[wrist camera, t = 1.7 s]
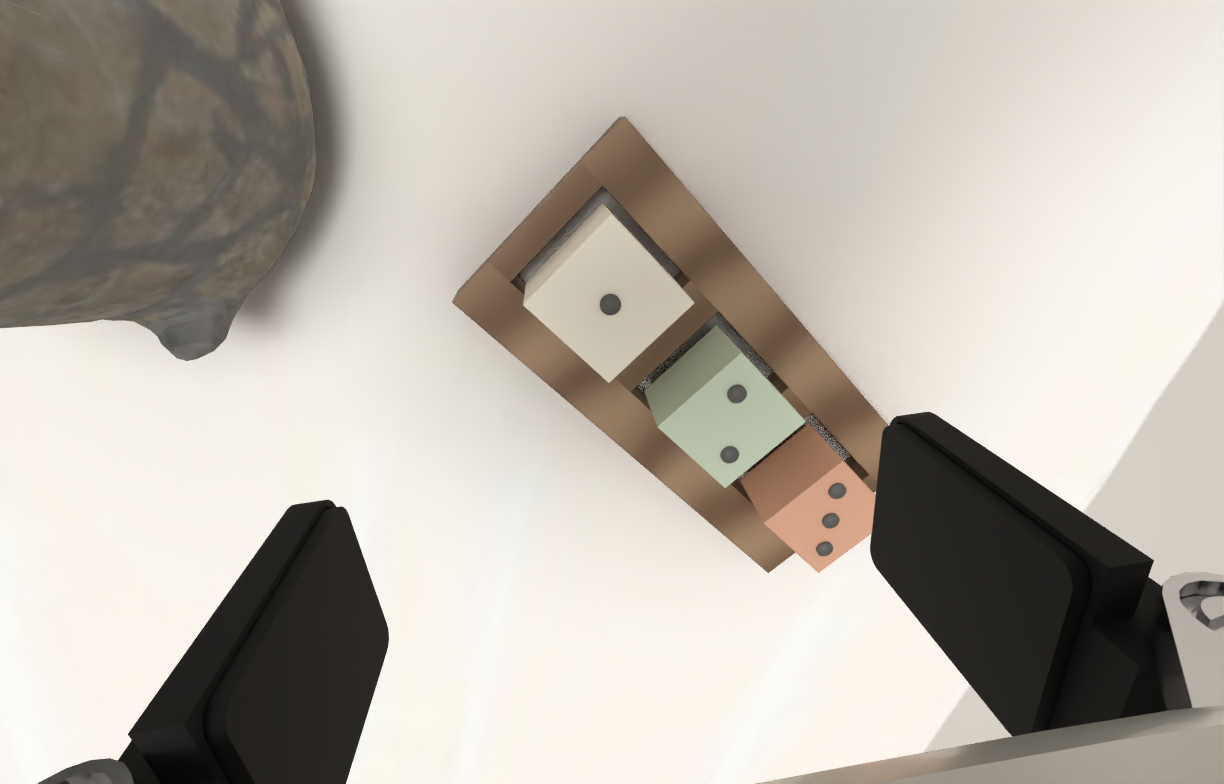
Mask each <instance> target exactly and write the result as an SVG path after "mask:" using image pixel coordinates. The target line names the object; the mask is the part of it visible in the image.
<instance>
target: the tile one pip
mask: <svg viewBox="0 0 1224 784" xmlns="http://www.w3.org/2000/svg"><path fill="white" fill-rule="evenodd" d="M693 304H694V301H693V300H692V299H691V298H690V297H689V296H688V295H687V293H686V292H685V291H684V290H683V289H682V288H681V286H680V285H679V284H678V283H677V282H676V281H675V280H674V279H673V277H672V276H671V275H670V274H669V273H668V272H667V271H666V270H665V269H664V268H663V267H662V266H661V265H660V264H659V263H658V261H657V260H656V259H655V258H654V257H653V256H652V255H651V254H650V253H649V252H648V251H647V250H646V249H645V248H644V246H643V245H642V244H641V243H640V242H639V241H638V240H637V239H636V238H635V237H634V236H633V235H632V234H631V233H630V232H629V230H628V229H627V228H626V227H625V226H624V225H623V224H622V223H621V222H620V221H619V220H618V219H617V218H616V217H615V215H614V214H613V213H612V212H611V211H610V210H609V209H608V208H607V207H606V206H605V205H604V204H603V203H602V204H601V205H600V206H599V207H598V208H597V209H596V210H595V211H594V212H593V213H592V214H591V215H590V216H589V217H588V218H587V219H586V220H585V221H584V222H583V223H582V224H581V225H580V226H579V227H578V228H577V229H576V230H575V232H574V233H573V234H572V235H571V236H570V237H569V238H568V239H567V240H566V241H565V242H564V243H563V244H562V245H561V246H560V247H559V248H558V249H557V250H556V251H555V252H554V253H553V254H552V255H551V256H550V257H549V259H548V260H547V261H546V262H545V263H544V264H543V265H542V266H541V267H540V268H539V269H538V270H537V271H536V272H535V273H534V274H533V275H532V276H531V277H530V278H529V279H528V280H527V281H526V287H525V294H524V301H523V306H525V307H526V308H527V309H528V310H529V311H530V312H531V313H532V314H533V315H534V316H536V317H537V318H538V319H539V320H540V321H541V322H542V323H543V324H544V325H545V326H547V327H548V328H549V329H550V330H551V331H552V332H553V333H554V334H555V335H557V336H558V337H559V338H560V339H561V340H562V341H563V342H564V343H565V344H566V345H568V346H569V347H570V348H571V349H572V350H573V351H574V352H575V353H576V354H577V355H579V356H580V357H581V358H582V359H583V360H584V361H585V362H586V363H587V364H589V365H590V366H591V367H592V368H593V369H594V370H595V371H596V372H597V373H598V374H600V375H601V376H602V377H603V378H604V379H605V380H606V381H607V382H608V383H610V382H611V381H612V380H613V379H614V378H615V377H616V376H617V375H618V374H619V373H620V372H621V371H622V370H623V369H625V368H626V367H627V366H628V365H629V364H630V363H631V362H632V361H633V360H634V359H635V358H636V357H637V356H638V355H640V354H641V353H642V352H643V351H644V350H645V349H646V348H647V347H648V346H649V345H650V344H651V343H652V342H653V341H655V340H656V339H657V338H658V337H659V336H660V335H661V334H662V333H663V332H664V331H665V330H666V329H667V328H668V327H670V326H671V325H672V324H673V323H674V322H675V321H676V320H677V319H678V318H679V317H680V316H681V315H682V314H683V313H684V312H686V311H687V310H688V309H689V308H690V307H691V306H692V305H693Z"/></svg>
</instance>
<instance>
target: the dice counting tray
mask: <svg viewBox="0 0 1224 784" xmlns="http://www.w3.org/2000/svg"><path fill="white" fill-rule="evenodd" d="M602 186H603V187H604V188H605V189H606V190H607V191H608V192H609V193H610V194H611V195H612V196H613V198H614V199H615V200H616V201H617V202H618V203H619V204H620V205H621V206H622V207H623V208H624V210H625V211H626V212H627V213H628V214H629V215H630V216H631V217H632V218H633V219H634V220H635V221H636V223H637V224H638V225H639V226H640V227H641V228H642V229H643V230H644V231H645V232H646V233H647V234H648V236H649V237H650V238H651V239H652V240H653V241H654V242H655V243H656V244H657V245H658V246H659V247H660V249H661V250H662V251H663V252H664V253H665V254H666V255H667V256H668V257H669V258H670V259H671V260H672V262H673V263H674V264H675V265H676V266H677V267H678V268H679V269H680V270H681V271H680V272H679V273H678V274H677V275H676V276H675V277H674V278H673V279H674V280H675V281H676V282H677V283H678V284H679V285H680V286H681V288H682V289H683V290H684V291H685V292H686V293H687V295H688V296H689V297H690V298H691V299H692V300H693V301H694V304H693V305H692V306H691V307H690V308H689V309H688V310H687V311H686V312H684V313H683V314H682V315H681V316H680V317H679V318H678V319H677V320H676V321H675V322H674V323H673V324H672V325H671V326H670V327H668V328H667V329H666V330H665V331H664V332H663V333H662V334H661V335H660V336H659V337H658V338H657V339H656V340H655V341H653V342H652V343H651V344H650V345H649V346H648V347H647V348H646V349H645V350H644V351H643V352H642V353H641V354H640V355H638V356H637V357H636V358H635V359H634V360H633V361H632V362H631V363H630V364H629V365H628V366H627V367H626V368H625V369H623V370H622V371H621V372H620V373H619V374H618V375H617V376H616V377H615V378H614V379H613V380H612V381H611V382H610V383H608V382H607V381H606V380H605V379H604V378H603V377H602V376H601V375H600V374H598V373H597V372H596V371H595V370H594V369H593V368H592V367H591V366H590V365H589V364H587V363H586V362H585V361H584V360H583V359H582V358H581V357H580V356H579V355H577V354H576V353H575V352H574V351H573V350H572V349H571V348H570V347H569V346H568V345H566V344H565V343H564V342H563V341H562V340H561V339H560V338H559V337H558V336H557V335H555V334H554V333H553V332H552V331H551V330H550V329H549V328H548V327H547V326H545V325H544V324H543V323H542V322H541V321H540V320H539V319H538V318H537V317H536V316H534V315H533V314H532V313H531V312H530V311H529V310H528V309H527V308H526V307H525V306H523V301H524V294H525V287H526V284H525V283H524V282H523V281H522V280H521V279H520V278H519V277H518V276H517V275H518V274H519V273H520V271H521V270H522V269H523V268H524V267H525V266H526V265H527V264H528V263H529V262H530V261H531V260H532V259H533V258H534V257H535V256H536V255H537V254H538V253H539V252H540V251H541V249H542V248H543V247H544V246H545V245H546V244H547V243H548V242H549V241H550V240H551V239H552V238H553V237H554V236H555V235H556V234H557V233H558V232H559V231H560V230H561V229H562V227H563V226H564V225H565V224H566V223H567V222H568V221H569V220H570V219H571V218H572V217H573V216H574V215H575V214H576V213H577V212H578V211H579V210H580V209H581V208H582V207H583V205H584V204H585V203H586V202H587V201H588V200H589V199H590V198H591V197H592V196H593V195H594V194H595V193H596V192H597V191H598V190H599V189H600V188H601V187H602ZM452 303H453V304H455V305H456V306H457V307H458V308H459V309H460V310H462V311H463V312H464V313H465V314H466V315H467V316H469V317H470V318H471V319H472V320H473V321H474V322H476V323H477V324H478V325H479V326H480V327H481V328H483V329H484V330H485V331H486V332H487V333H488V334H490V335H491V336H492V337H493V338H494V339H495V340H497V341H498V342H499V343H500V344H501V345H502V346H504V347H505V348H506V349H507V350H508V351H509V352H511V353H512V354H513V355H514V356H515V357H516V358H518V359H519V360H520V361H521V362H522V363H523V364H525V365H526V366H527V367H528V368H529V369H531V370H532V371H533V372H534V373H535V374H536V375H538V376H539V377H540V378H541V379H542V380H543V381H545V382H546V383H547V384H548V385H549V386H550V387H552V388H553V389H554V390H555V391H556V392H557V393H559V394H560V395H561V396H562V397H563V398H564V399H566V400H567V401H568V402H569V403H570V404H571V405H573V406H574V407H575V408H576V409H577V410H578V411H580V412H581V413H582V414H583V415H584V416H585V417H587V418H588V419H589V420H590V421H591V422H592V423H594V424H595V425H596V426H597V427H598V428H599V429H601V430H602V431H603V432H604V433H605V434H606V435H608V436H609V437H610V438H611V439H612V440H613V441H615V442H616V443H617V444H618V445H619V446H620V447H622V448H623V449H624V450H625V451H626V452H627V453H629V454H630V455H631V456H632V457H633V458H635V459H636V460H637V461H638V462H639V463H640V464H642V465H643V466H644V467H645V468H646V469H647V470H649V471H650V472H651V473H652V474H653V475H654V476H656V477H657V478H658V479H659V480H660V481H661V482H663V483H664V484H665V485H666V486H667V487H668V488H670V489H671V490H672V491H673V492H674V493H675V494H677V495H678V496H679V497H680V498H681V499H682V500H684V501H685V502H686V503H687V504H688V505H689V506H691V507H692V508H693V509H694V510H695V511H696V512H698V513H699V514H700V515H701V516H702V517H703V518H705V519H706V520H707V521H708V522H709V523H710V524H712V525H713V526H714V527H715V528H716V529H717V530H719V531H720V532H721V533H722V534H723V535H724V536H726V537H727V538H728V539H729V540H730V541H731V542H733V543H734V544H735V545H736V546H737V547H739V548H740V549H741V550H742V551H743V552H744V553H746V554H747V555H748V556H749V557H750V558H751V559H753V560H754V561H755V562H756V563H757V564H758V565H760V566H761V567H762V568H763V569H764V570H765V571H767V572H768V573H769V572H770V571H772V570H773V569H774V568H775V567H777V566H778V565H779V564H781V563H782V562H783V561H785V560H786V559H787V558H789V557H790V556H791V555H793V554H794V553H795V551H794V550H793V549H792V548H790V547H789V546H788V545H787V544H786V543H785V542H784V541H783V540H782V539H781V538H779V537H778V536H777V535H776V534H775V533H774V532H773V531H772V530H771V529H770V528H768V527H767V526H766V525H765V524H764V523H763V521H762V519H761V517H760V516H759V514H758V512H757V510H756V508H755V507H754V505H753V503H752V501H751V499H750V498H749V496H748V494H747V492H746V490H745V489H744V487H743V485H742V484H741V483H740V482H739V481H738V480H737V479H736V480H735V481H733V482H732V483H731V484H730V485H728V486H727V487H726V488H724V487H723V486H722V485H721V484H720V483H719V482H718V481H717V480H715V479H714V478H713V477H712V476H711V475H710V474H709V473H708V472H707V471H705V470H704V469H703V468H702V467H701V466H700V465H699V464H698V463H697V462H696V461H694V460H693V459H692V458H691V457H690V456H689V455H688V454H687V453H686V452H685V451H683V450H682V449H681V448H680V447H679V446H678V445H677V444H676V443H675V442H673V441H672V440H671V439H670V438H669V437H668V436H667V435H666V434H665V433H664V432H662V431H661V430H660V429H659V428H658V427H657V424H656V422H655V419H654V416H653V414H652V411H651V408H650V406H649V403H648V400H647V398H646V395H645V394H644V393H643V392H642V391H641V390H640V389H639V388H638V387H637V385H638V384H640V383H641V382H642V381H643V380H644V379H645V378H646V377H647V376H648V375H649V374H650V373H651V372H653V371H654V370H655V369H656V368H657V367H658V366H659V365H660V364H661V363H662V362H663V361H665V360H666V359H667V358H668V357H669V356H670V355H671V354H672V353H673V352H674V351H675V350H677V349H678V348H679V347H680V346H681V345H682V344H683V343H684V342H685V341H686V340H687V339H689V338H690V337H691V336H692V335H693V334H694V333H695V332H696V331H697V330H698V329H699V328H701V327H702V326H703V325H704V324H705V323H706V322H707V321H708V320H709V319H710V318H711V317H712V316H714V315H715V314H716V313H717V312H718V311H719V313H720V314H721V315H722V316H723V317H724V318H725V319H726V320H727V321H728V322H729V323H730V325H731V326H732V327H733V328H734V329H735V330H736V331H737V332H738V333H739V334H740V335H741V336H742V338H743V339H744V340H745V341H746V342H747V343H748V344H749V345H750V346H751V347H752V348H753V349H754V351H755V352H756V353H757V354H758V355H759V356H760V357H761V358H762V359H763V360H764V361H765V362H766V364H767V365H768V366H769V367H770V368H771V369H772V370H773V371H774V373H772V374H771V375H770V376H769V377H768V378H767V379H768V380H769V381H770V382H771V383H772V384H773V385H774V387H775V388H776V389H777V390H778V391H779V392H780V393H781V394H782V395H783V397H784V398H785V399H786V400H787V401H788V402H789V403H790V404H791V405H792V407H793V408H794V409H795V410H796V411H797V412H798V413H799V414H800V415H801V417H802V418H803V419H804V418H805V417H806V416H808V415H809V414H810V413H811V412H812V413H813V415H814V416H815V417H816V418H817V419H818V420H819V421H820V422H821V423H822V424H823V425H824V426H825V428H826V429H827V430H828V431H829V432H830V433H831V434H832V435H833V436H834V437H835V438H836V439H837V441H838V442H839V443H840V444H841V445H842V446H843V447H844V448H845V449H846V450H847V451H848V453H849V454H850V455H851V457H849V458H848V459H847V460H846V461H845V462H846V463H847V465H848V466H849V467H850V468H851V469H852V470H853V471H854V472H855V473H856V474H857V475H858V476H859V477H860V479H861V480H862V481H863V482H864V483H865V484H866V485H867V486H868V487H869V488H870V490H871V491H872V492H873V493H874V492H875V491H876V487H877V478H878V468H879V459H880V449H881V440H882V433H883V430H884V428H885V427H887V426H888V425H887V423H886V422H885V421H884V420H883V419H882V418H881V416H880V415H879V414H878V413H877V412H876V411H875V409H874V408H873V407H872V406H871V405H870V403H869V402H868V401H867V400H866V399H865V398H864V396H863V395H862V394H861V393H860V392H859V391H858V389H857V388H856V387H855V386H854V385H853V384H852V382H851V381H850V380H849V379H848V378H847V376H846V375H845V374H844V373H843V372H842V371H841V369H840V368H839V367H838V366H837V365H836V364H835V362H834V361H833V360H832V359H831V358H830V357H829V355H828V354H827V353H826V352H825V351H824V349H823V348H822V347H821V346H820V345H819V344H818V342H817V341H816V340H815V339H814V338H813V337H812V335H811V334H810V333H809V332H808V331H807V330H806V328H805V327H804V326H803V325H802V324H801V322H800V321H799V320H798V319H797V318H796V317H795V315H794V314H793V313H792V312H791V311H790V310H789V308H788V307H787V306H786V305H785V304H784V303H783V301H782V300H781V299H780V298H779V297H778V295H777V294H776V293H775V292H774V291H773V290H772V288H771V287H770V286H769V285H768V284H767V283H766V281H765V280H764V279H763V278H762V277H761V276H760V274H759V273H758V272H757V271H756V270H755V268H754V267H753V266H752V265H751V264H750V263H749V261H748V260H747V259H746V258H745V257H744V256H743V254H742V253H741V252H740V251H739V250H738V249H737V247H736V246H735V245H734V244H733V243H732V241H731V240H730V239H729V238H728V237H727V236H726V234H725V233H724V232H723V231H722V230H721V229H720V227H719V226H718V225H717V224H716V223H715V222H714V220H713V219H712V218H711V217H710V216H709V214H708V213H707V212H706V211H705V210H704V209H703V207H702V206H701V205H700V204H699V203H698V202H697V200H696V199H695V198H694V197H693V196H692V195H691V193H690V192H689V191H688V190H687V189H686V187H685V186H684V185H683V184H682V183H681V182H680V180H679V179H678V178H677V177H676V176H675V175H674V173H673V172H672V171H671V170H670V169H669V168H668V166H667V165H666V164H665V163H664V162H663V160H662V159H661V158H660V157H659V156H658V155H657V153H656V152H655V151H654V150H653V149H652V148H651V146H650V145H649V144H648V143H647V142H646V141H645V139H644V138H643V137H642V136H641V135H640V133H639V132H638V131H637V130H636V129H635V128H634V126H633V125H632V124H631V123H630V122H629V121H628V119H627V118H626V117H620V118H618V119H617V120H616V122H615V123H614V124H613V125H612V126H611V127H610V128H609V129H608V130H607V131H606V132H605V133H604V134H603V135H602V137H601V138H600V139H599V140H598V141H597V142H596V143H595V144H594V145H593V146H592V147H591V148H590V149H589V151H588V152H587V153H586V154H585V155H584V156H583V157H582V158H581V159H580V160H579V161H578V162H577V163H576V164H575V166H574V167H573V168H572V169H571V170H570V171H569V172H568V173H567V174H566V175H565V176H564V177H563V178H562V180H561V181H560V182H559V183H558V184H557V185H556V186H555V187H554V188H553V189H552V190H551V191H550V192H549V194H548V195H547V196H546V197H545V198H544V199H543V200H542V201H541V202H540V203H539V204H538V205H537V206H536V207H535V209H534V210H533V211H532V212H531V213H530V214H529V215H528V216H527V217H526V218H525V219H524V220H523V221H522V223H521V224H520V225H519V226H518V227H517V228H516V229H515V230H514V231H513V232H512V233H511V234H510V235H509V237H508V238H507V239H506V240H505V241H504V242H503V243H502V244H501V245H500V246H499V247H498V248H497V249H496V250H495V252H494V253H493V254H492V255H491V256H490V257H489V258H488V259H487V260H486V261H485V262H484V263H483V264H482V266H481V267H480V268H479V269H478V270H477V271H476V272H475V273H474V274H473V275H472V276H471V277H470V278H469V280H468V281H467V282H466V283H465V284H464V285H463V286H462V287H461V288H460V289H459V290H458V292H457V294H456V296H455V297H454V299H453V301H452Z"/></svg>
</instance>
